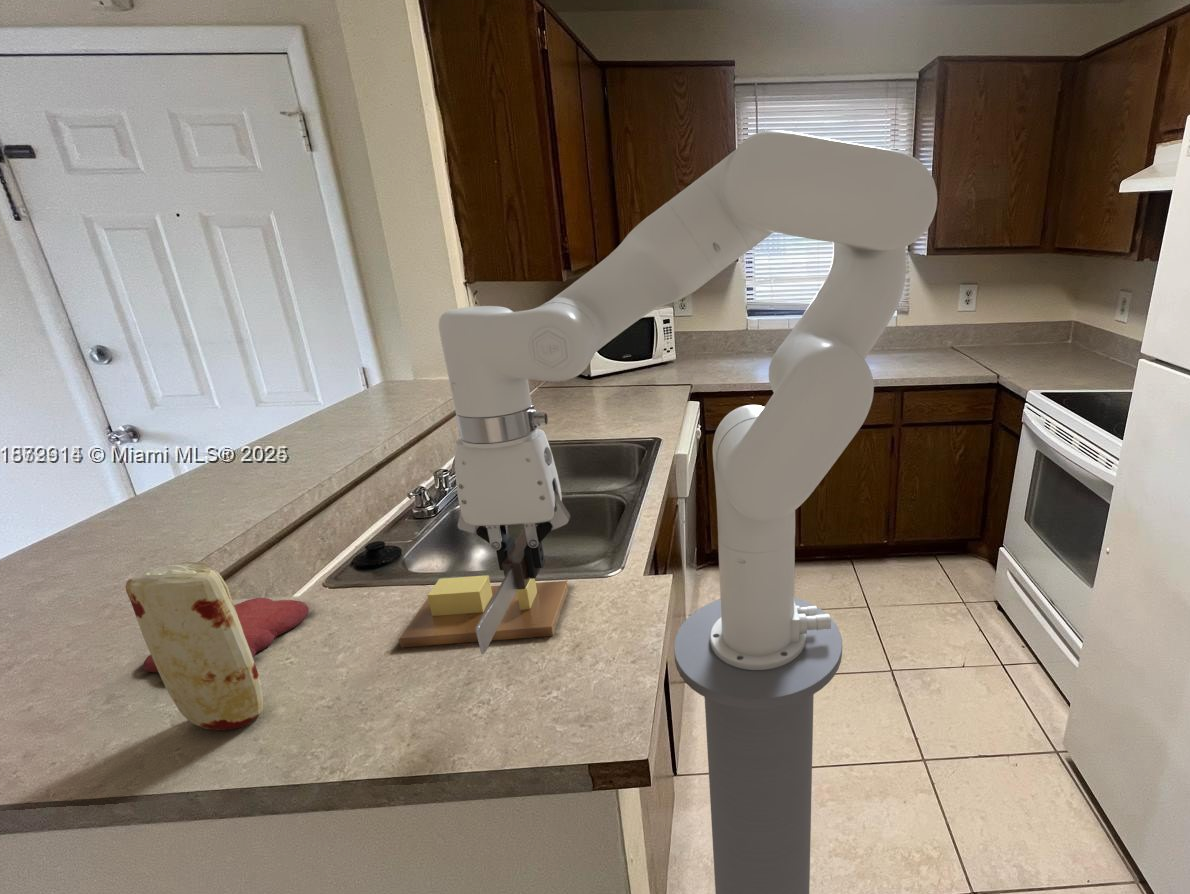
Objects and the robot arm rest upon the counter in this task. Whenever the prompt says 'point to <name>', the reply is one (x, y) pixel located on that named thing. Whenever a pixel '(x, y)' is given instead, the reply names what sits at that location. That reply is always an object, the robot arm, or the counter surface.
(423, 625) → the cutting board
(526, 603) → the butter pat
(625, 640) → the counter surface
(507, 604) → the knife
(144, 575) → the food model
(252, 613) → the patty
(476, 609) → the butter
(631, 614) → the counter surface
